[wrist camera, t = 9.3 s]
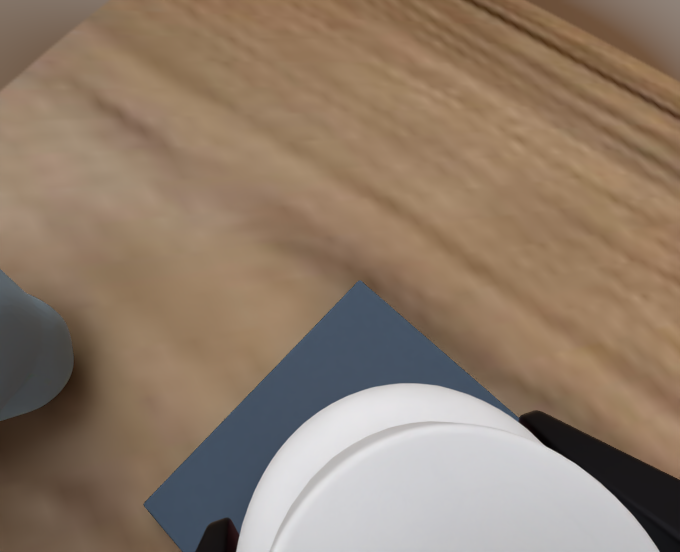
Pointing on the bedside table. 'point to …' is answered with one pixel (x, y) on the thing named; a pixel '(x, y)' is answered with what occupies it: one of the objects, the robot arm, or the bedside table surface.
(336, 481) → the pill bottle
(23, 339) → the wolf head
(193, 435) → the bedside table surface
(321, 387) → the mat
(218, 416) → the bedside table surface
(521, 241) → the bedside table surface
